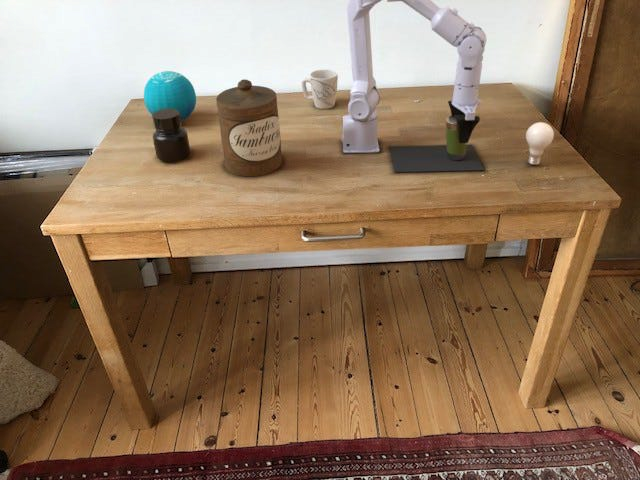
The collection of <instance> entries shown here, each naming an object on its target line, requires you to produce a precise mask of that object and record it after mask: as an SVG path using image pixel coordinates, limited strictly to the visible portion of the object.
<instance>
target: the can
mask: <svg viewBox="0 0 640 480" xmlns="http://www.w3.org/2000/svg"><path fill="white" fill-rule="evenodd" d="M445 136H446V137H445V140H446V141H445V145H447V158H448V159H450V160H461V159H464V158H465V157H466V145H467V143H459V140H458V125H457V121H456V118H455V115H453V116H452V115H450V116H449V115H448V116H447V117H446V118H445Z"/></svg>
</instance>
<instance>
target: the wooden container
mask: <svg viewBox="0 0 640 480" xmlns="http://www.w3.org/2000/svg"><path fill="white" fill-rule="evenodd" d="M215 100H216V102H215V103H216V109H217V113H218V114H217V115H218V122H219V129H220V130H219V131H220V139H221V140H220V141H221V147H222V153H223V160H224V166H225V169H226V170H227V171H228V172H229V173H232V174H234V175H237V176H243V177H258V176H262V175H267V174H270V173H272V172H274V171H275V170H277V169H278V168H279V167H280V166H281V165H282V162H283V156H282V139H281V138H282V137H281V129H280V128H281V127H280V120H279V109H278V98H277V93H276V92H275V90H274V89H272V88H270V87H267V86H261V85H253V83H252V81H251V80H249V79H246V78H245V79H241V80H240V81H239V82H237V86H235V87H231V88H228V89H225V90H223V91H221V92H220V93H219V94H218V95H217V96H216V98H215Z"/></svg>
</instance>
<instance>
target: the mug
mask: <svg viewBox="0 0 640 480" xmlns="http://www.w3.org/2000/svg"><path fill="white" fill-rule="evenodd" d="M338 77H339V75H338V72H337V71H336V70H333V69H318V70H313V71H312V72H310V74H309V77H305V78H303V80H302V81H301V88H302V92H303V96H304V98H305V99H306V100H308V101H313V104H314V106H315V108H317V109H320V110H326V109H327V110H328V109H331V108H333V107H334V106H335V104H336V99H337V91H338V81H339V80H338ZM307 83H309V84H310V89H311V94H312V95H309V93H308V89H307V88H308V87H307Z"/></svg>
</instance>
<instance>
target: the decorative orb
mask: <svg viewBox="0 0 640 480" xmlns="http://www.w3.org/2000/svg"><path fill="white" fill-rule="evenodd" d="M143 101H144V105H145V107H146V109H147V111H148V112H149V114H150V115H151V116H152V115H153V113H155V112H156V111H159V110H163V109H175V110H178V111H179V114H180V119H181V123H182V122H184V121H185V120H187V119H188V118H190V116H191V115H192V114H193V112H194V110H195V108H196V105H197V95H196V91H195V88H194V85H193V83H192V82H191V81H190V80H189V78H187V77H186V76H184V75H183V74H181V73H179V72H177V71H172V70H163V71H160V72H157V73H155V74H153V75H152V76H151V77H150V79H148V80H147V82H146V84H145V86H144V90H143Z"/></svg>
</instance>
